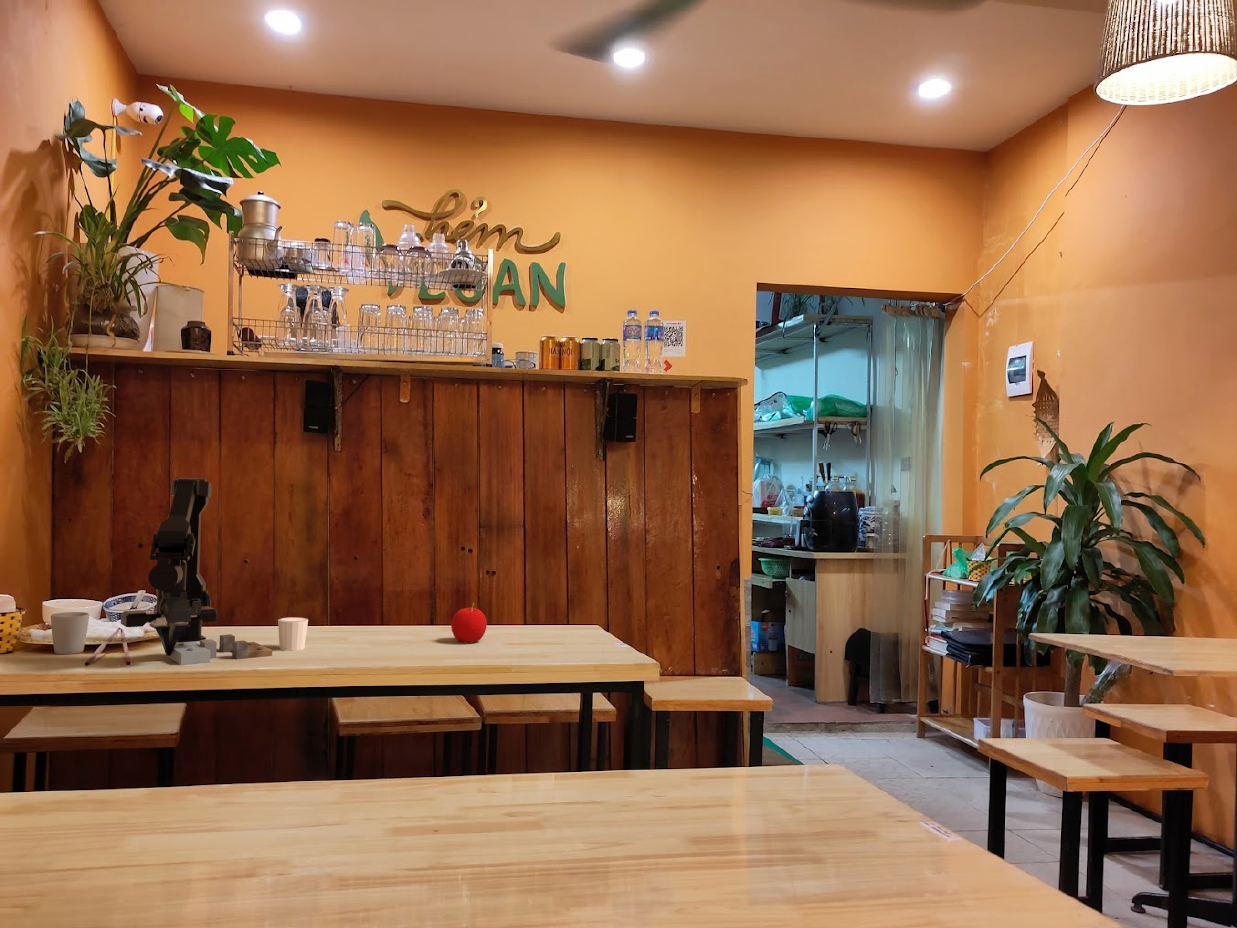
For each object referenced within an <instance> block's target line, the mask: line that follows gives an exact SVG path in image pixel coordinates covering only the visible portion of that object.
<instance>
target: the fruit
mask: <svg viewBox="0 0 1237 928" xmlns="http://www.w3.org/2000/svg"><path fill="white" fill-rule="evenodd" d="M474 605H475V602H472V606H471V607H464V608H461V609H459V610H457V612H455V614H454V616H453V618H452V620H451V631H452V633H453V637H454V638H455V640H456V641H457V642H460V643H464V644H465V643H466V644H467V643H468V644H471V643H474V642H479V641H481V639H482V638H483V637H484V635H485V633H486V631H487V625H488V624H487V621H488V620H487V618H486V616H485V614H484V613H483V611H481V610H480V609H478V608H475V607H474Z"/></svg>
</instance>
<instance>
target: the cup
mask: <svg viewBox="0 0 1237 928" xmlns="http://www.w3.org/2000/svg"><path fill="white" fill-rule="evenodd" d="M89 620H90V613H89V612H85V611H65V612H57V613H52V614H51V615H50V624H51V635H52V644H53V645H52V646H53V651H54V653H55V654H57V655H75V654H80V653H82V652H83V651H84V649H85V643H86V638H87V633H88V628H89V627H88V626H89Z"/></svg>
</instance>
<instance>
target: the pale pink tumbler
mask: <svg viewBox="0 0 1237 928" xmlns="http://www.w3.org/2000/svg"><path fill="white" fill-rule="evenodd" d="M308 622H309V619H308V618H305V617H297V616H295V617H293V616H292V617H291V616H290V617H283V618H279V619H277V625H278V627H277V629H278V645H279V650H281V651H286V652H287V651H289V652H293V651H303V650H305V647H306V641H307V640H306V638H307V633H308Z"/></svg>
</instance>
